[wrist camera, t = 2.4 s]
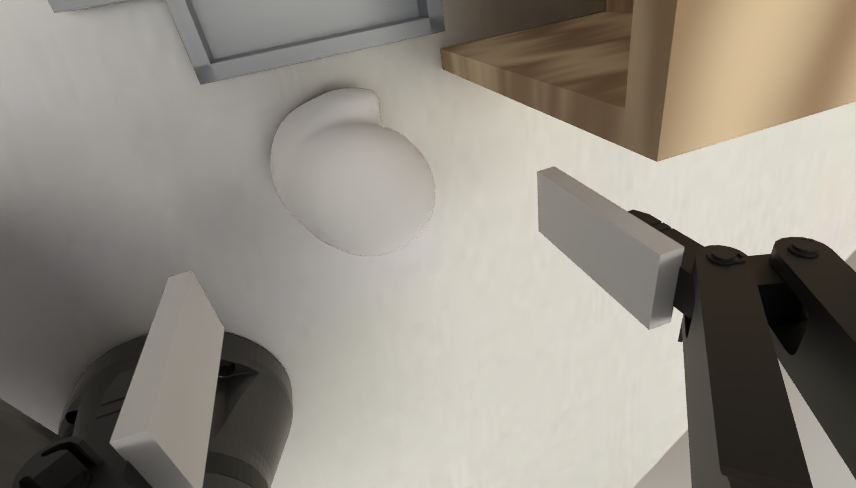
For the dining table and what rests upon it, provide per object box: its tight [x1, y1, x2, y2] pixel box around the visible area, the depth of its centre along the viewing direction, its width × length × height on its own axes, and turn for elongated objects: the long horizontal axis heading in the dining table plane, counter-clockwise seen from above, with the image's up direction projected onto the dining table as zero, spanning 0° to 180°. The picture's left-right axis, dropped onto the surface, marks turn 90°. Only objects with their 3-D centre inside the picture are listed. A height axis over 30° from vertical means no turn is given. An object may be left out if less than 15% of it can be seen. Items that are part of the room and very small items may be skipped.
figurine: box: [270, 88, 435, 256], centre depth 23 cm, size 7×8×12 cm
